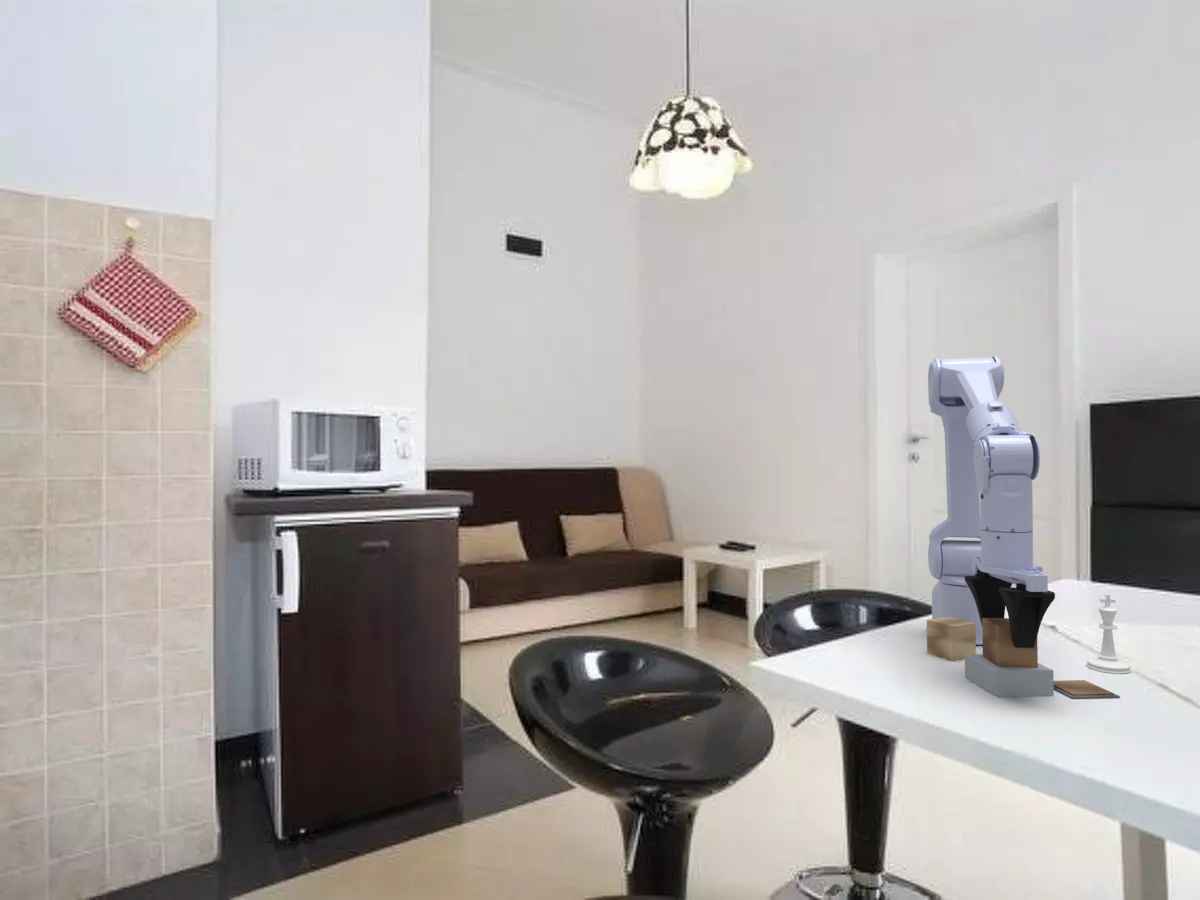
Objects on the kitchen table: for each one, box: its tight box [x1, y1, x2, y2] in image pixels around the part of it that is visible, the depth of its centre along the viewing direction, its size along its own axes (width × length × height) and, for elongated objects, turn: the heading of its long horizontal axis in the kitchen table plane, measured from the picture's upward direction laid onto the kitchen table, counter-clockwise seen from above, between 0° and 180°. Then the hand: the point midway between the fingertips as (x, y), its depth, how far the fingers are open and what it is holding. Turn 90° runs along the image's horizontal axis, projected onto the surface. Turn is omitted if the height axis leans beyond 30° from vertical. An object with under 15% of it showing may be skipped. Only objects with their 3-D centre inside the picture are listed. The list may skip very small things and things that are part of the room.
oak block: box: [926, 617, 977, 662], centre depth 103 cm, size 4×4×5 cm
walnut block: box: [982, 617, 1039, 668], centre depth 89 cm, size 4×4×5 cm
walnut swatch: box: [1053, 679, 1121, 700], centre depth 88 cm, size 6×6×1 cm
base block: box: [964, 653, 1055, 698], centre depth 89 cm, size 7×7×4 cm
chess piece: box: [1085, 593, 1132, 675], centre depth 97 cm, size 5×5×10 cm
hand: (1007, 638), depth 89 cm, fingers open, 7 cm apart
